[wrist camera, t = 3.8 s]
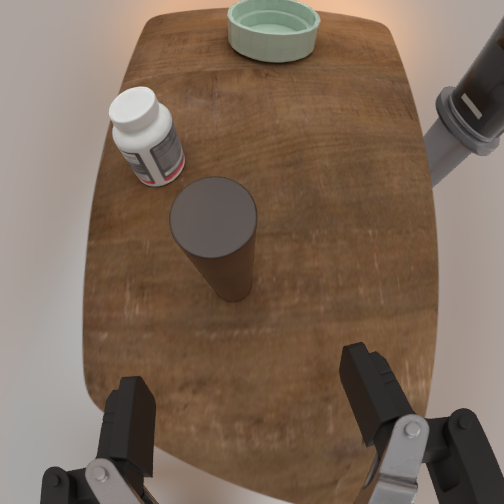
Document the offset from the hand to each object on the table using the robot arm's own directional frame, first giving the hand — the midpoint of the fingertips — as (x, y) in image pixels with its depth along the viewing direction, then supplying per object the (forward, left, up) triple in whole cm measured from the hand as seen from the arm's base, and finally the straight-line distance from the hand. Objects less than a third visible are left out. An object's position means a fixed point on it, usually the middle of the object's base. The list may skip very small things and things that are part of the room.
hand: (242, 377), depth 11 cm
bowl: (-3, -40, -14) cm, 42 cm away
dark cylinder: (+1, -6, -14) cm, 15 cm away
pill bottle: (+9, -18, -14) cm, 25 cm away
